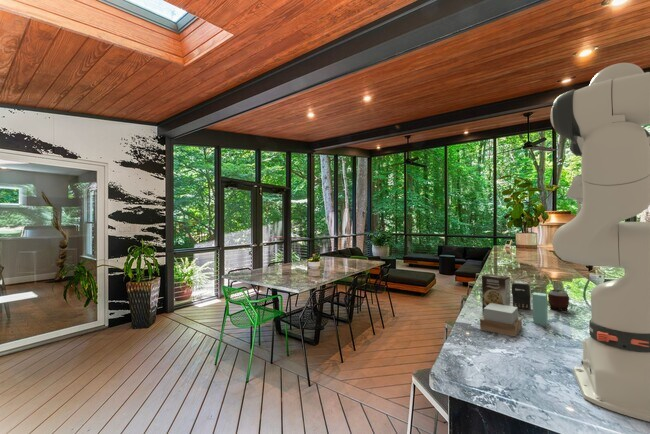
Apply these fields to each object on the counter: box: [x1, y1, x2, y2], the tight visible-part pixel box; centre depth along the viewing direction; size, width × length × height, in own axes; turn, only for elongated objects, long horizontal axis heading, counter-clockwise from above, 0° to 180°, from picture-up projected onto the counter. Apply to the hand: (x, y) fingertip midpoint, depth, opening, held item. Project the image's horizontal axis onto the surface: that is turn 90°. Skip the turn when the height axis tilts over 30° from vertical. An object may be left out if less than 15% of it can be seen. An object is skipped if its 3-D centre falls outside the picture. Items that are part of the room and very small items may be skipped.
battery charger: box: [511, 281, 532, 310], centre depth 132 cm, size 7×4×11 cm, turn 47°
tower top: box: [483, 303, 519, 325], centre depth 109 cm, size 9×9×4 cm
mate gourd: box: [544, 272, 570, 312], centre depth 130 cm, size 8×8×15 cm
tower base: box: [479, 315, 523, 337], centre depth 109 cm, size 11×11×4 cm
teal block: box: [531, 292, 549, 327], centre depth 113 cm, size 4×4×11 cm
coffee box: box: [481, 273, 511, 315], centre depth 125 cm, size 9×6×16 cm
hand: (597, 216), depth 98 cm, fingers open, 8 cm apart
